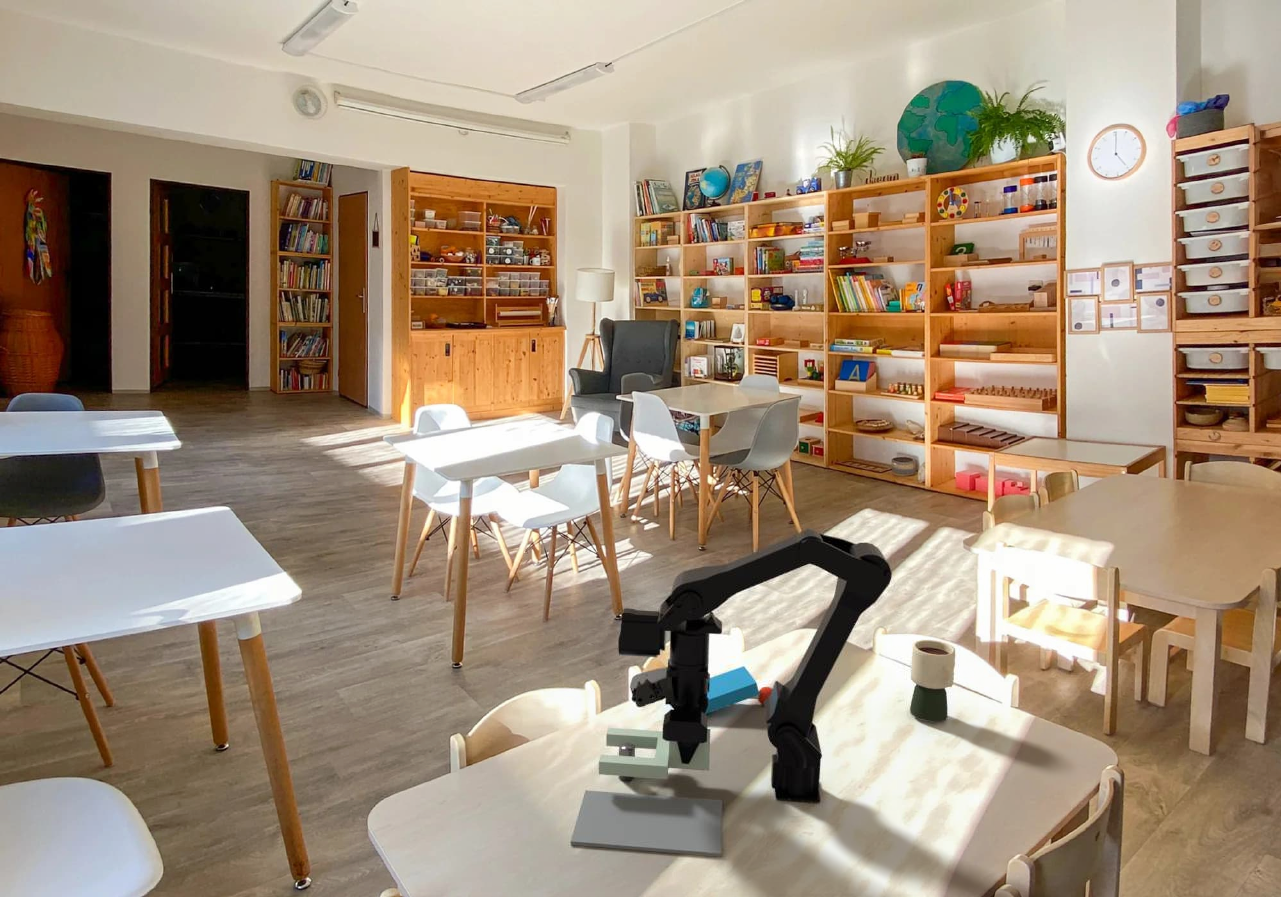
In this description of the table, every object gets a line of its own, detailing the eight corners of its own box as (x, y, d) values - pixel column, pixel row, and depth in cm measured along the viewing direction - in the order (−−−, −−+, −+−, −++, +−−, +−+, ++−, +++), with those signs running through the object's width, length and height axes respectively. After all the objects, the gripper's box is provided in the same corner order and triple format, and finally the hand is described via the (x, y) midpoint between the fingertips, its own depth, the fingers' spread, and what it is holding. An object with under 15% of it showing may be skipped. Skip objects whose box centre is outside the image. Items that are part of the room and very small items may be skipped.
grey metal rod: (635, 773, 131) (635, 743, 130) (633, 782, 129) (634, 751, 128) (619, 772, 131) (620, 742, 130) (617, 781, 129) (618, 750, 128)
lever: (689, 745, 149) (784, 710, 152) (679, 710, 148) (776, 675, 150) (679, 725, 156) (771, 693, 158) (670, 691, 154) (762, 659, 157)
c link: (709, 746, 133) (710, 719, 132) (708, 782, 123) (709, 753, 123) (608, 739, 135) (608, 712, 134) (598, 774, 125) (598, 745, 124)
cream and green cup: (965, 729, 147) (972, 658, 144) (929, 734, 145) (935, 662, 142) (927, 700, 157) (932, 633, 155) (893, 705, 155) (898, 637, 153)
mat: (722, 803, 124) (722, 800, 124) (721, 856, 112) (721, 853, 112) (585, 793, 126) (585, 790, 126) (570, 844, 114) (570, 841, 114)
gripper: (640, 630, 136) (639, 721, 138) (627, 682, 117) (625, 786, 120) (711, 634, 135) (708, 726, 137) (708, 687, 116) (705, 792, 119)
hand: (686, 755), depth 128 cm, fingers closed on c link, 4 cm apart
